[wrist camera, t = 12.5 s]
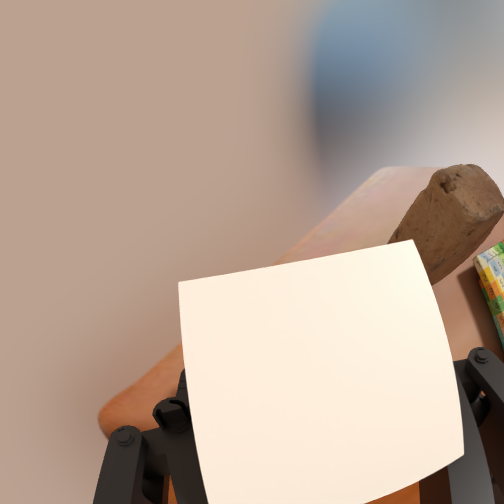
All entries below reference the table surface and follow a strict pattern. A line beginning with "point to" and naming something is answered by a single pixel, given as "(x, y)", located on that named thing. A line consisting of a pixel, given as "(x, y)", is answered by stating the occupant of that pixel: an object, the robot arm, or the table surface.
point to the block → (451, 218)
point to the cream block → (319, 379)
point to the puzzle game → (493, 283)
